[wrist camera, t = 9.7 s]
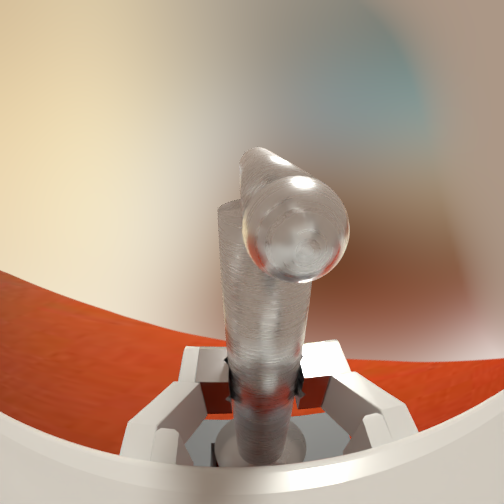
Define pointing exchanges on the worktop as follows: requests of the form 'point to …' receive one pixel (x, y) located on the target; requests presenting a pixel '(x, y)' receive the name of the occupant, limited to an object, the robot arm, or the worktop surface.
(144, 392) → the worktop surface
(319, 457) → the grey block with hole
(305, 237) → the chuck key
